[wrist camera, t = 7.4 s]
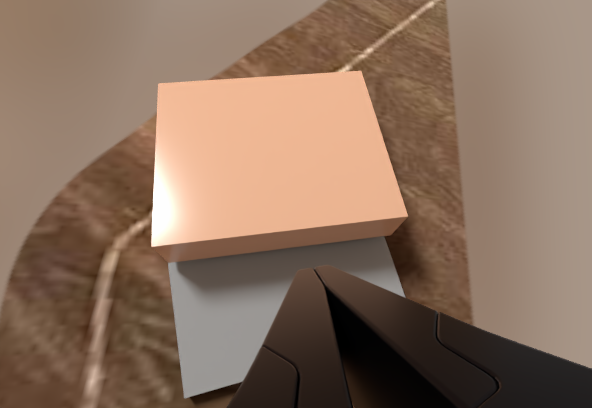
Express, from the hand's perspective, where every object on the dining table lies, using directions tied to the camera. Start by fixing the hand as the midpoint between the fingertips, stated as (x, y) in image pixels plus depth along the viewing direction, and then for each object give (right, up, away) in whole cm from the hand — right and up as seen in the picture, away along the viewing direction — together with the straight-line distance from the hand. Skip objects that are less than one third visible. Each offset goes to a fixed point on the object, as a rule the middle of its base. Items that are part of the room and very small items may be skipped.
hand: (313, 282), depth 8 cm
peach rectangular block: (-1, 0, +7) cm, 7 cm away
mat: (-1, -1, +8) cm, 9 cm away
